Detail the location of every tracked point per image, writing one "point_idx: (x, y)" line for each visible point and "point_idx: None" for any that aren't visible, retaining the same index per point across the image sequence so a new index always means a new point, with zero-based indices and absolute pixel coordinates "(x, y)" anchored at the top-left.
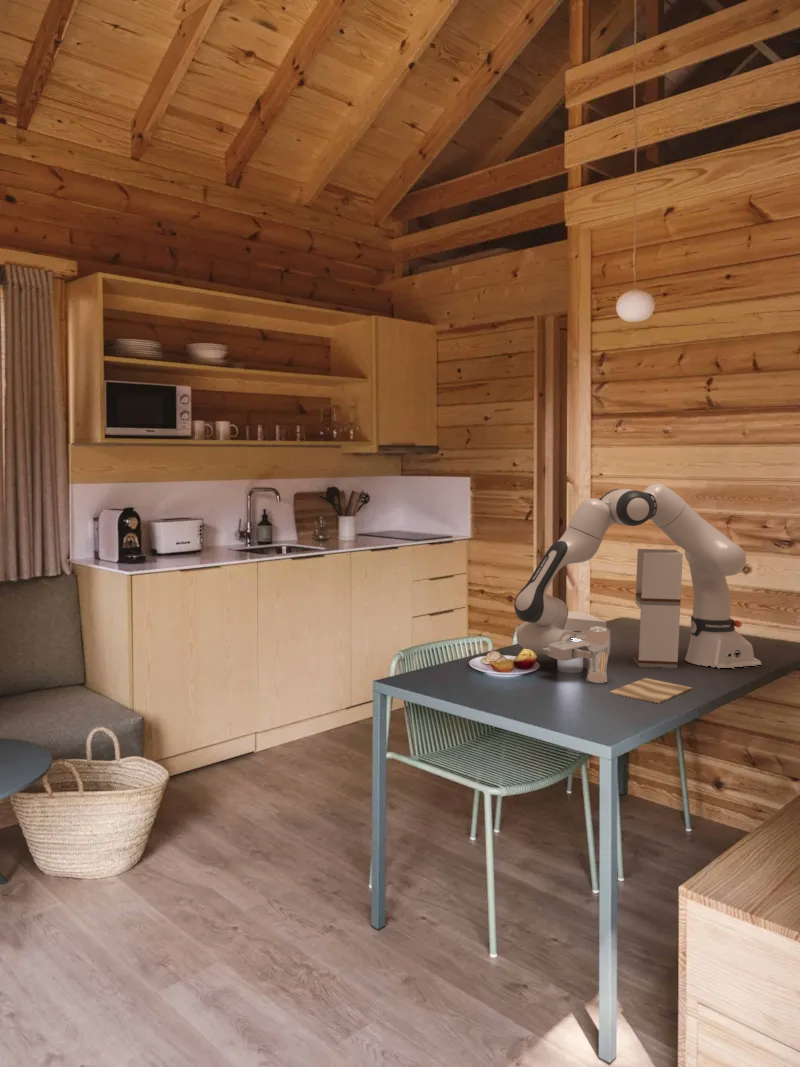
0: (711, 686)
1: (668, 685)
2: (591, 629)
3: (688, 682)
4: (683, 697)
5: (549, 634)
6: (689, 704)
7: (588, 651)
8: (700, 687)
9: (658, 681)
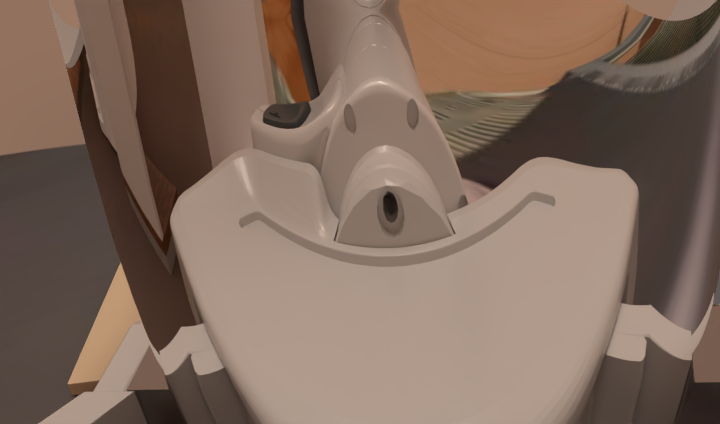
0: (39, 182)
1: None
2: (242, 56)
3: (3, 248)
4: None
5: None
6: None
7: (706, 345)
8: (90, 190)
9: (125, 294)
